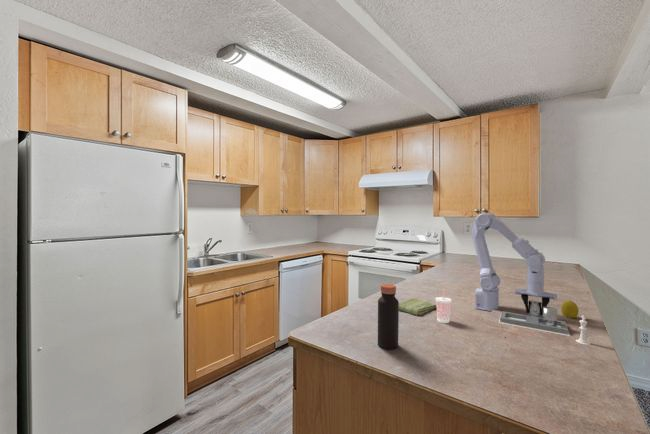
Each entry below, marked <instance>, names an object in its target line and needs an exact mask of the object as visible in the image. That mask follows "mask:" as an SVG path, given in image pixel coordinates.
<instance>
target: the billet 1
mask: <svg viewBox="0 0 650 434" xmlns="http://www.w3.org/2000/svg"><path fill="white" fill-rule="evenodd" d="M541 308H542V301H539V300H535V299H530V300H529V299H528V310H529V313H527V315H528V316H534V317H540V318H542V316H541Z"/></svg>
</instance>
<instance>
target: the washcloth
mask: <svg viewBox="0 0 650 434" xmlns="http://www.w3.org/2000/svg"><path fill="white" fill-rule="evenodd" d="M434 309H437V305H436V304H435V303H433V302H429V301H428V300H423V299H422V300H421V299H419V298H415V297H413V298H410V299H409V298H408V299H407V300H405V301H400V302H399V311H401V312H403V313H408V314H410V315H413V316H418V317H419V316H422V315H425V314H427V313H428V312H431V311H432V310H434Z"/></svg>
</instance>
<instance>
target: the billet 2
mask: <svg viewBox="0 0 650 434" xmlns="http://www.w3.org/2000/svg"><path fill="white" fill-rule="evenodd" d="M542 318H543V325H549V326H554V327H557V320H558V309H557V308H556V307H551V306H546V307H543V316H542Z"/></svg>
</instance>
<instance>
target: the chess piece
mask: <svg viewBox="0 0 650 434" xmlns="http://www.w3.org/2000/svg"><path fill="white" fill-rule="evenodd" d="M580 317H581V318H582V319H580V320H579V323H580V326H579V327H578V329H580V334H579V335H580V336H579V338H578V339H575V341H576V342H577V343H578V344H581V345H586V346H587V345H591V342H589V341H588V340H587V338H586V337H587V336H586V331H588V328H587V327H586V326H587V325H588V321H586V317H585V315H584V314H583V315H581V316H580Z"/></svg>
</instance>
